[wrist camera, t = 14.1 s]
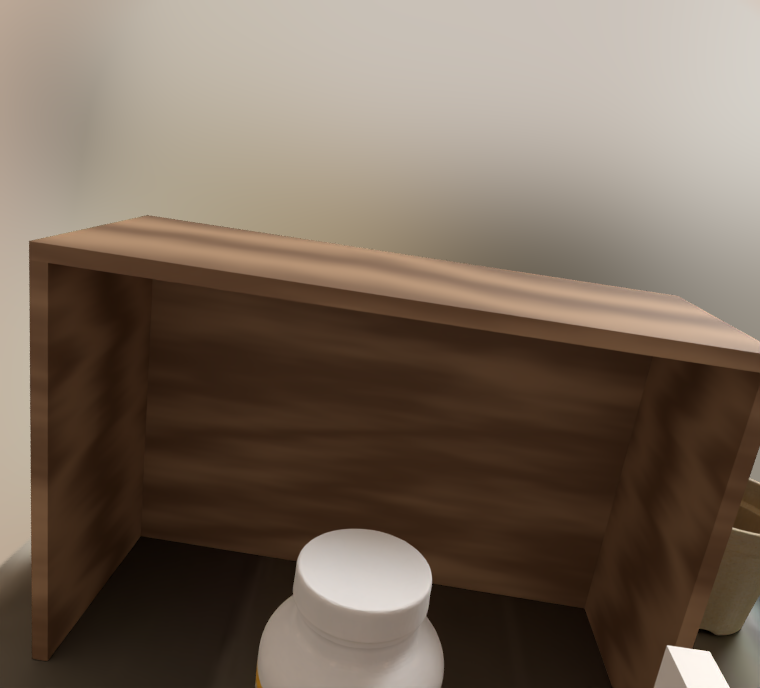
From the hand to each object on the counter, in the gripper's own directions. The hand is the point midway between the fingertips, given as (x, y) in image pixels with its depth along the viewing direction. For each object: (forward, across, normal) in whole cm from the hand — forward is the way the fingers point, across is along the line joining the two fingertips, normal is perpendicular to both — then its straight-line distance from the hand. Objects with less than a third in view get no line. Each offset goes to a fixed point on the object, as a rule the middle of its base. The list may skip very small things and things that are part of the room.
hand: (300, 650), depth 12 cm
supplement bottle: (+9, +1, -18) cm, 20 cm away
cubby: (+22, +1, -18) cm, 29 cm away
